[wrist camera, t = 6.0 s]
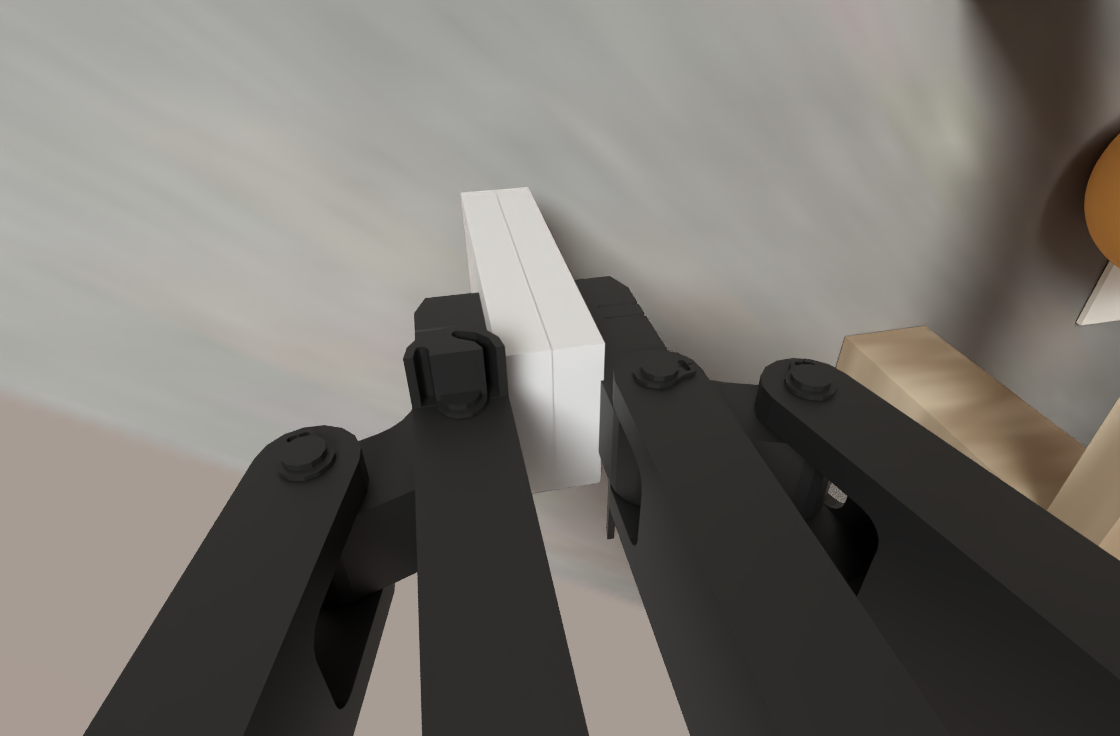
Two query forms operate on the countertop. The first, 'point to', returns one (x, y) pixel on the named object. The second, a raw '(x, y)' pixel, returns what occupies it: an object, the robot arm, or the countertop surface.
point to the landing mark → (1103, 299)
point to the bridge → (995, 427)
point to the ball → (1105, 203)
